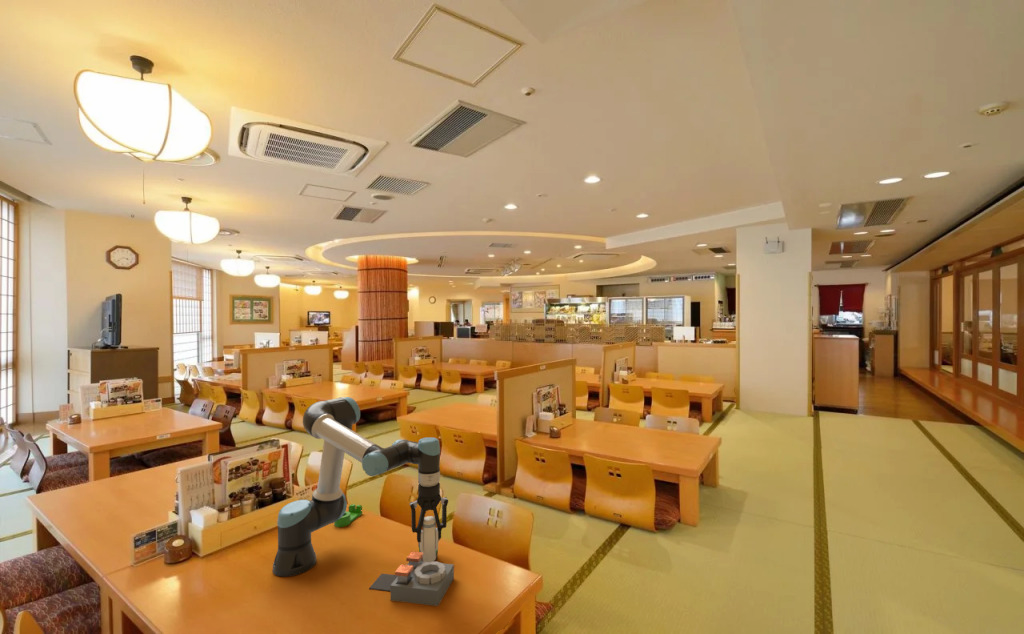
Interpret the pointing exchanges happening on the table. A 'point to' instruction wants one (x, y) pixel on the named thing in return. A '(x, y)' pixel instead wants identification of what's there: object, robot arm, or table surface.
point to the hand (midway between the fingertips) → (429, 549)
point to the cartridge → (429, 539)
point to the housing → (425, 584)
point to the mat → (383, 582)
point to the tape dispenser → (349, 516)
